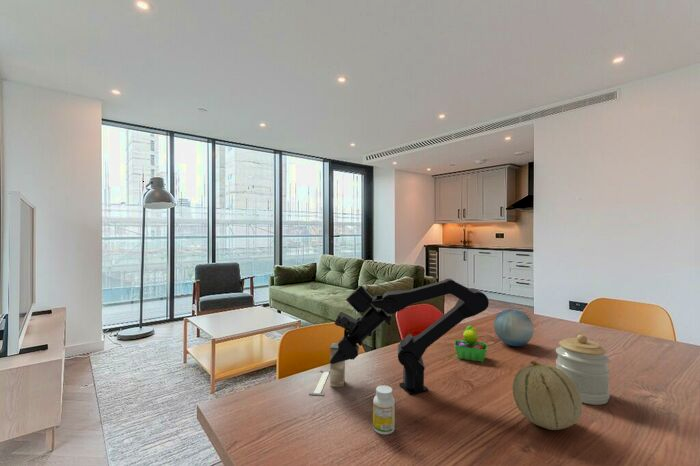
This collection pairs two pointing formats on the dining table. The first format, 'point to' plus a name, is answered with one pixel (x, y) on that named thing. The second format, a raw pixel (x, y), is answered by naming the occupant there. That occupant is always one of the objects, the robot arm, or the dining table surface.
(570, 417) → the cantaloupe
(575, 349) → the jar
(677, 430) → the dining table surface
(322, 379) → the tape line
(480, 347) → the fruit basket
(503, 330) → the decorative ball
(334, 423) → the dining table surface
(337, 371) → the beige tall block
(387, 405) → the supplement bottle
